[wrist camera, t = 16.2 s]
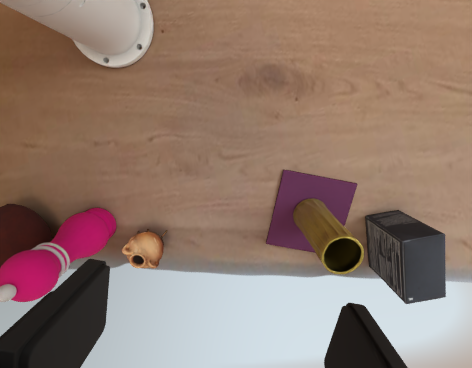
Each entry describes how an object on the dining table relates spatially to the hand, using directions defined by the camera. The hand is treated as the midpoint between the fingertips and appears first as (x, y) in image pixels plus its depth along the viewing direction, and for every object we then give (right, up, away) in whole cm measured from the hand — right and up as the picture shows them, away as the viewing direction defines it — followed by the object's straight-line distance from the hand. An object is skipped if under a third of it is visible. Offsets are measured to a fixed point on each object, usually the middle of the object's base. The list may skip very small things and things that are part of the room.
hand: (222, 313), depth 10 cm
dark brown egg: (-36, -3, +36) cm, 51 cm away
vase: (+14, 0, +35) cm, 38 cm away
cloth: (+14, 0, +35) cm, 38 cm away
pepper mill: (-24, -2, +36) cm, 44 cm away
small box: (+28, -5, +37) cm, 46 cm away
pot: (-15, -5, +37) cm, 40 cm away
